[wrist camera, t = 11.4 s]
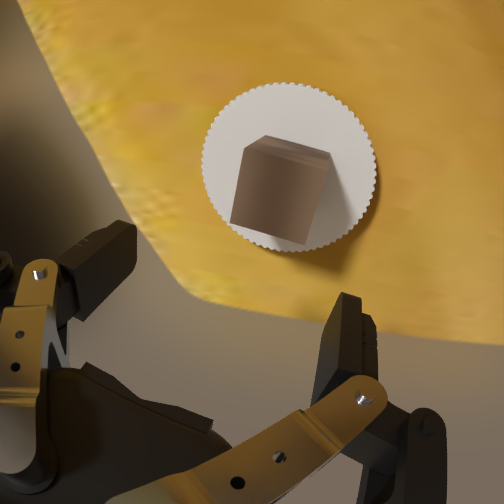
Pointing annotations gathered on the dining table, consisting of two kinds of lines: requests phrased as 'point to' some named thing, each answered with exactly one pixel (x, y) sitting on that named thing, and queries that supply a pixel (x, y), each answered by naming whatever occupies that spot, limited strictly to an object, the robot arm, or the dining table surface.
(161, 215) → the dining table surface
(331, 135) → the plastic lid
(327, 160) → the walnut block
